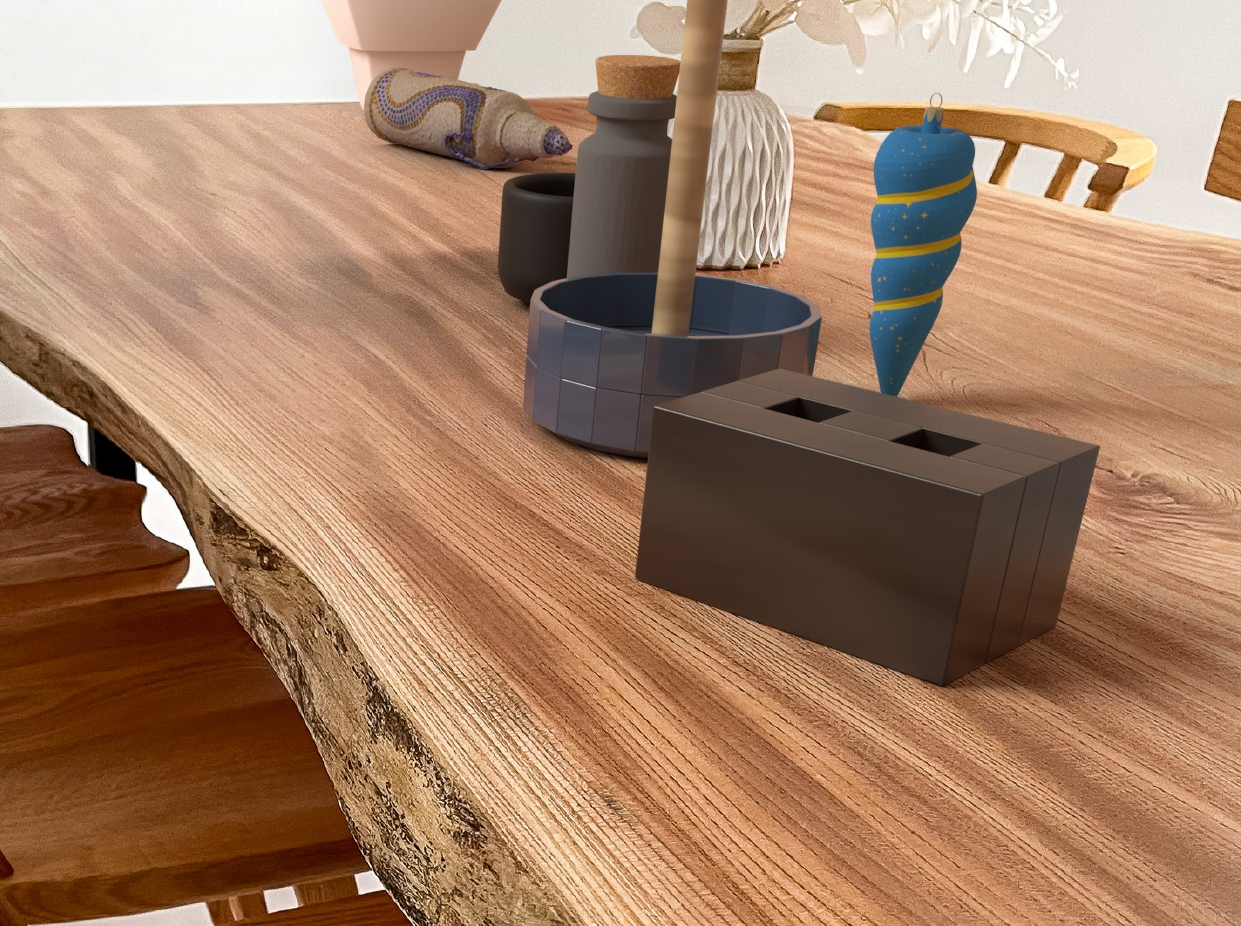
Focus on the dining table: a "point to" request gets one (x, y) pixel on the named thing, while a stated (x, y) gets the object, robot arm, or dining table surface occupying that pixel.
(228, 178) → the dining table surface
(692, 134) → the stirring stick
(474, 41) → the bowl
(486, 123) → the decorative bottle
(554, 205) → the mug
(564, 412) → the mixing bowl
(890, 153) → the ornament
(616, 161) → the bottle
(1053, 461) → the utensil block
